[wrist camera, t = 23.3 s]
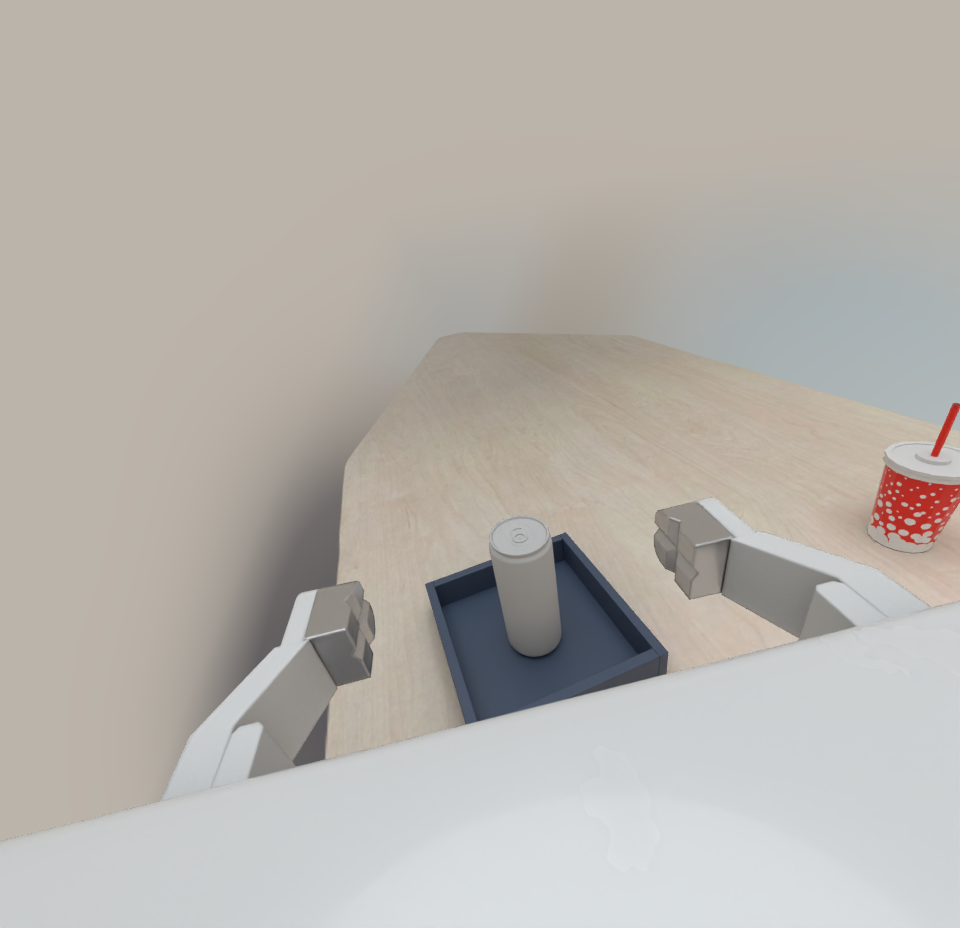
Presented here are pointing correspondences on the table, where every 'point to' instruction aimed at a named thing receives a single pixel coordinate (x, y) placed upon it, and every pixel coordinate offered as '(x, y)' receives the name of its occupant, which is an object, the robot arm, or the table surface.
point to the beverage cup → (917, 492)
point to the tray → (554, 676)
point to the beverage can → (526, 583)
